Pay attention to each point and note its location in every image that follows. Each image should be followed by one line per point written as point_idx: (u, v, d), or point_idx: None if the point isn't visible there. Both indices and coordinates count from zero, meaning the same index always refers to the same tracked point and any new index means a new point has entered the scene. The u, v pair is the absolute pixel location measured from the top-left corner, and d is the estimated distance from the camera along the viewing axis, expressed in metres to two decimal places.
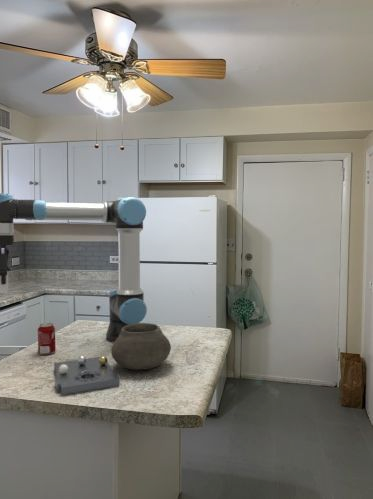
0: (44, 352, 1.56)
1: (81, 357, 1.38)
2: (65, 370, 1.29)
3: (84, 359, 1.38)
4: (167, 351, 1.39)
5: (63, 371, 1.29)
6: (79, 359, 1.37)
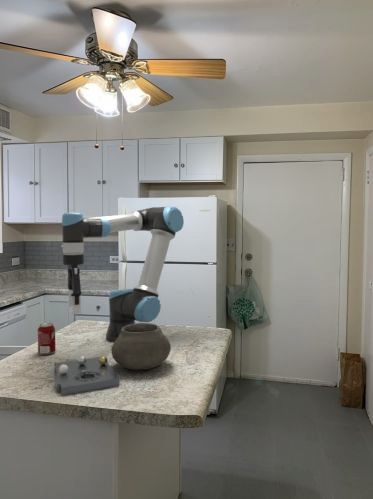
0: (44, 352, 1.56)
1: (81, 357, 1.38)
2: (65, 370, 1.29)
3: (84, 359, 1.38)
4: (167, 351, 1.39)
5: (63, 371, 1.29)
6: (79, 359, 1.37)
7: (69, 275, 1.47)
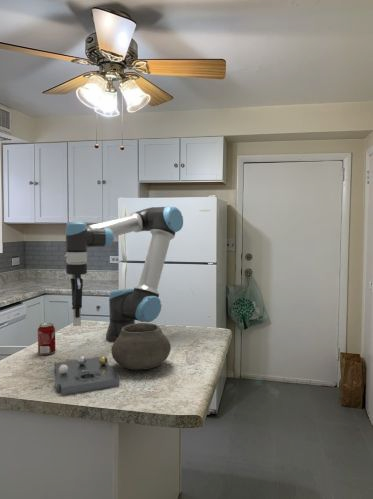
0: (44, 352, 1.56)
1: (81, 357, 1.38)
2: (65, 370, 1.29)
3: (84, 359, 1.38)
4: (167, 351, 1.39)
5: (63, 371, 1.29)
6: (79, 359, 1.37)
7: None
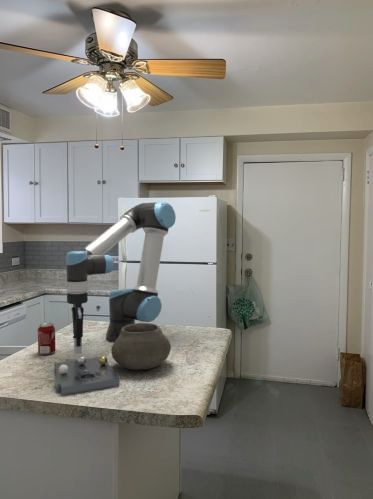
0: (44, 352, 1.56)
1: (81, 357, 1.38)
2: (65, 370, 1.29)
3: (84, 359, 1.38)
4: (167, 351, 1.39)
5: (63, 371, 1.29)
6: (79, 359, 1.37)
7: None
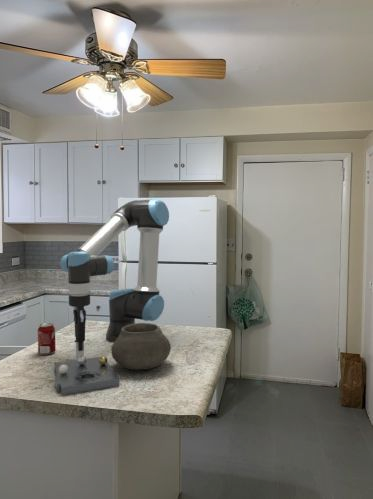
0: (44, 352, 1.56)
1: (81, 357, 1.38)
2: (65, 370, 1.29)
3: (84, 359, 1.38)
4: (167, 351, 1.39)
5: (63, 371, 1.29)
6: (79, 359, 1.37)
7: None
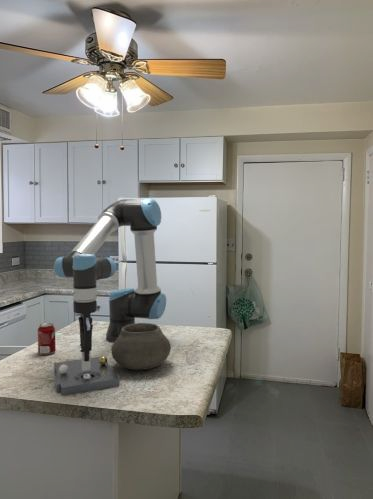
0: (44, 352, 1.56)
1: None
2: (65, 370, 1.29)
3: None
4: (167, 351, 1.39)
5: (63, 371, 1.29)
6: None
7: (81, 325, 1.29)
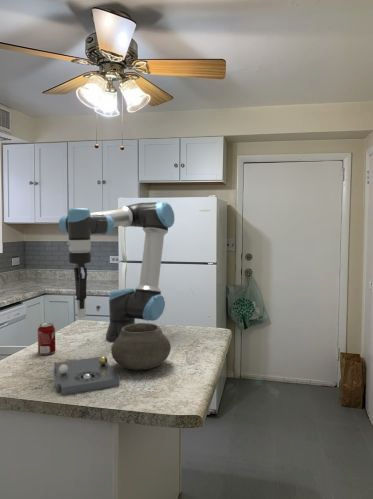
0: (44, 352, 1.56)
1: None
2: (65, 370, 1.29)
3: None
4: (167, 351, 1.39)
5: (63, 371, 1.29)
6: None
7: (76, 275, 1.38)
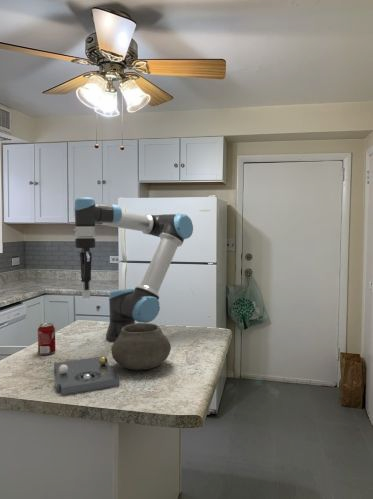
0: (44, 352, 1.56)
1: None
2: (65, 370, 1.29)
3: None
4: (167, 351, 1.39)
5: (63, 371, 1.29)
6: None
7: None
